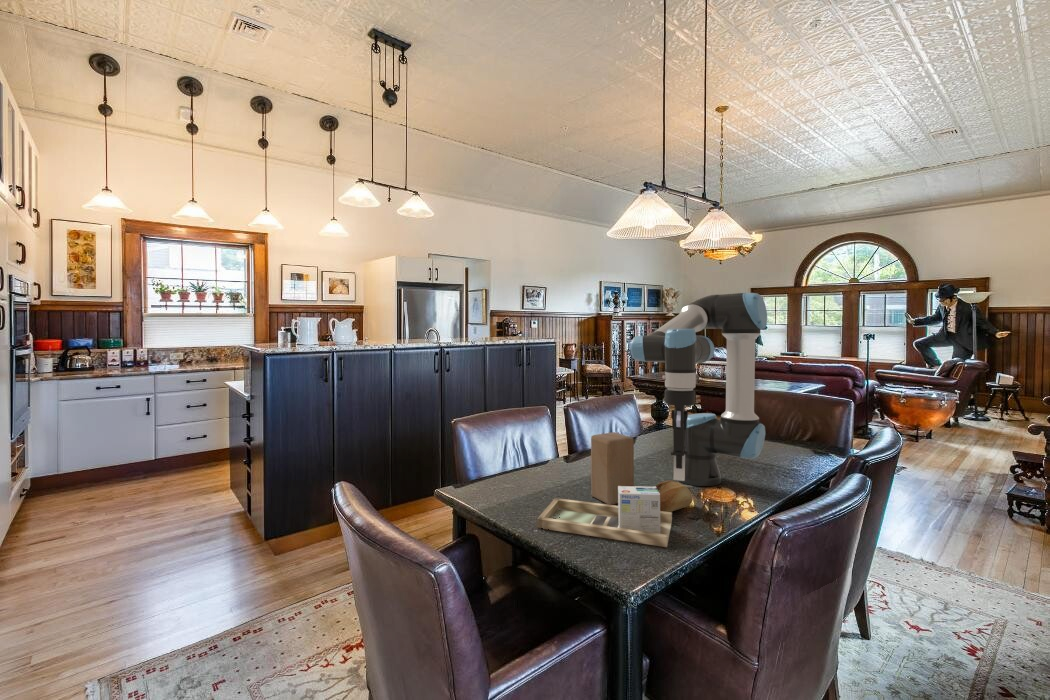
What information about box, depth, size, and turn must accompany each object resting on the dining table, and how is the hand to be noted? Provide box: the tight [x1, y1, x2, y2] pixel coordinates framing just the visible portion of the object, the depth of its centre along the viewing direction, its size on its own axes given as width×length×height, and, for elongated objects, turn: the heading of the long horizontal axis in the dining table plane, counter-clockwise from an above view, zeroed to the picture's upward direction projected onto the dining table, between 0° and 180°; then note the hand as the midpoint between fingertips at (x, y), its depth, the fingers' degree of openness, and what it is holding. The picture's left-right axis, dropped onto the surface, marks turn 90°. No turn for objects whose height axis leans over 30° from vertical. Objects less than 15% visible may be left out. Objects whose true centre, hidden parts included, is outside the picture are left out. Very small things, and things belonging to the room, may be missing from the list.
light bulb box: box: [617, 485, 660, 534], centre depth 127 cm, size 11×7×11 cm, turn 84°
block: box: [590, 431, 635, 505], centre depth 150 cm, size 10×10×20 cm
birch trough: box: [536, 497, 673, 548], centre depth 131 cm, size 34×17×3 cm, turn 69°
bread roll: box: [655, 480, 693, 513], centre depth 141 cm, size 10×15×8 cm, turn 130°
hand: (679, 479), depth 123 cm, fingers closed
